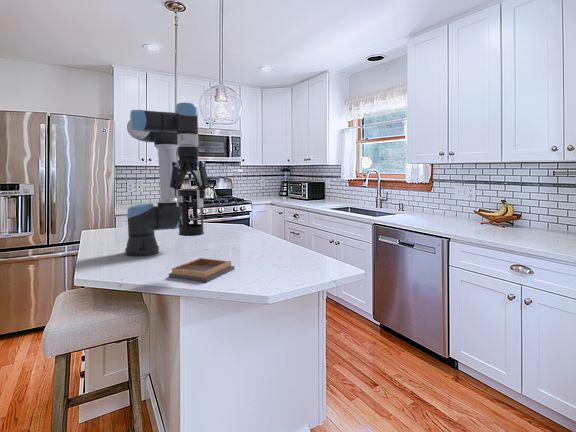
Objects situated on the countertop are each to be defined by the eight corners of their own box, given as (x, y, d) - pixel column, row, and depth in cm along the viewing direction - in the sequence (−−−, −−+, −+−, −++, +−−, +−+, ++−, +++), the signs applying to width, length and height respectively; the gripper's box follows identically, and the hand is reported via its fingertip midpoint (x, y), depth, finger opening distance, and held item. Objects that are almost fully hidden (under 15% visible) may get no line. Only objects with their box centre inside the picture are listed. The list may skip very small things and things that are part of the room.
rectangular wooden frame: (168, 277, 133) (168, 268, 133) (199, 264, 151) (199, 257, 150) (206, 282, 127) (206, 273, 127) (234, 269, 144) (234, 261, 144)
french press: (185, 231, 142) (183, 173, 139) (208, 231, 141) (206, 173, 138) (172, 236, 131) (170, 173, 128) (197, 237, 130) (195, 173, 127)
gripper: (158, 146, 133) (160, 206, 136) (205, 144, 124) (207, 209, 127) (172, 147, 140) (174, 205, 142) (218, 146, 131) (219, 207, 134)
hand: (190, 206), depth 135 cm, fingers closed on french press, 9 cm apart
